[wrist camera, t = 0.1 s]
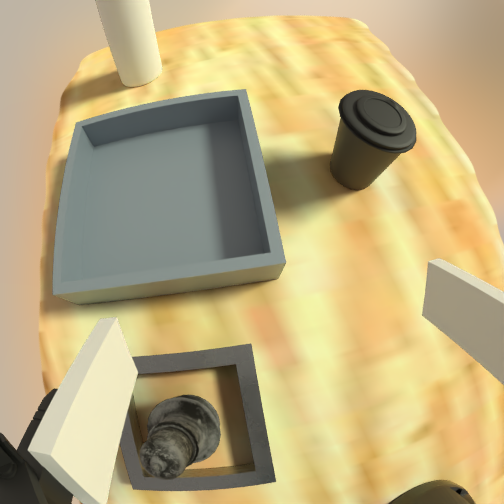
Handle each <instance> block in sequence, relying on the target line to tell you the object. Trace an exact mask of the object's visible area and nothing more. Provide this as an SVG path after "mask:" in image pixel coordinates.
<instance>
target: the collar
mask: <svg viewBox="0 0 504 504" xmlns="http://www.w3.org/2000/svg"><path fill="white" fill-rule="evenodd" d="M132 359H133V361H134V364H135V366H136V369H137V371H138V374H144V373H159V372H172V371H183V370H193V369H202V368H210V367H218V366H226V365H233V364H236V367H237V373H238V379H239V385H240V390H241V396H242V402H243V407H244V412H245V418H246V423H247V428H248V434H249V439H250V444H251V449H252V454H253V459H254V463H253V464H246V465H239V466H230V467H220V468H208V469H190V470H184V472H183V473H182V474H181V475H180V476H178V477H176V478H174V479H170V480H162V479H159V478H156V477H154V476H152V475H150V474H149V473H148V472H147V471H146V470H145V469H144V468H143V466H142V464H141V462H140V458H139V453H140V449H141V447H142V445H143V441H142V436H141V432H140V427H139V423H138V418H137V413H136V408H135V402H134V397H133V392H132V396H131V400H130V403H129V407H128V411H127V415H126V418H125V422H124V426H123V430H122V434H121V439H120V446H121V449H122V453H123V457H124V461H125V464H126V468H127V471H128V475H129V478H130V481H131V484H132V487H133V489H137V490H155V491H197V490H215V489H227V488H237V487H245V486H253V485H260V484H266V483H272V482H276V478H275V473H274V468H273V463H272V457H271V452H270V447H269V441H268V436H267V430H266V425H265V419H264V414H263V408H262V403H261V397H260V391H259V386H258V380H257V374H256V369H255V363H254V357H253V351H252V345H251V344H245V345H238V346H232V347H225V348H217V349H210V350H202V351H193V352H184V353H174V354H164V355H152V356H139V357H132Z"/></svg>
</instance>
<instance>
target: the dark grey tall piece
mask: <svg viewBox="0 0 504 504" xmlns="http://www.w3.org/2000/svg"><path fill="white" fill-rule="evenodd" d="M147 427H148V437H147V441H146V442H145V443H144V444H143V445H142V447H141V449H140V453H139V458H140V462H141V464H142V466H143V468H144V469H145V470H146V471H147V472H148V473H149V474H150V475H152V476H154V477H156V478H159V479H162V480H170V479H174V478H176V477H178V476H180V475H181V474H182V473H183V472H184V470H185V468H186V467H187V466H189V465H191V464H192V463H196V462H200V461H203V460H205V459H207V458H208V457H210V456H211V455H212V454H213V453H214V452H215V450H216V449H217V447H218V445H219V441H220V436H221V434H220V422H219V417H218V414H217V412H216V410H215V409H214V407H213V406H212V405H211V404H210V403H209V402H208V401H206V400H205V399H203V398H201V397H198V396H194V395H182V396H178V397H174V398H171V399H167V400H164V401H163V402H161V403H159V404H158V405H157V406H156V407H155V408H154V409H153V410H152V412H151V414H150V416H149V418H148V425H147Z"/></svg>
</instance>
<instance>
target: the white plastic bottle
mask: <svg viewBox="0 0 504 504" xmlns="http://www.w3.org/2000/svg"><path fill="white" fill-rule="evenodd" d="M95 1H96V5H97V8H98V12H99V15H100V18H101V22H102V25H103V28H104V31H105V34H106V37H107V40H108V44H109V47H110V50H111V53H112V56H113V59H114V62H115V65H116V68H117V70H118V73H119V76H120V79H121V82H122V83H123V84H124V85H125V86H128V87H137V86H142V85H145V84H148V83H150V82H152V81H153V80H155V79H156V78H157V77H158V76H159V75H160V74H161V72H162V64H161V59H160V54H159V50H158V45H157V40H156V35H155V31H154V25H153V20H152V15H151V9H150V4H149V0H95Z"/></svg>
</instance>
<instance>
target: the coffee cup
mask: <svg viewBox="0 0 504 504" xmlns="http://www.w3.org/2000/svg"><path fill="white" fill-rule="evenodd" d="M338 108H339V113H340V117H341V119H340V124H339V128H338V132H337V137H336V141H335V145H334V149H333V154H332V158H331V162H330V171H331V173H332V175H333V177H334V178H335V179H336V180H337V182H339V183H340V184H341V185H343V186H344V187H347V188H349V189H353V190H361V189H365V188H366V187H368V186H369V185H370V184H371V183H372V182H373V181H374V180H375V179H376V178H377V177H378V176H379V175H380V174H381V173H382V172H383V171H384V170H385V169H386V168H387V167H388V166H389V165H390V164H391V163H392V162H393V161H394V160H395V159H396V158H397V157H398V156H399V155H400V154H401V153H405V152H407V151H409V150H410V149H412V148H413V146H414V145H415V143H416V128H415V124H414V122H413V120H412V118H411V117H410V115H409V114H408V113H407V112H406V110H405V109H404V108H403V107H401V106H400V105H399V104H398V103H397V102H395V101H394V100H392V99H391V98H389V97H387V96H385V95H383V94H380V93H377V92H374V91H369V90H357V91H353V92H350V93H349V94H346V95H345V96H344V97H343V98H342V99H341V100H340V104H339V107H338Z"/></svg>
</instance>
